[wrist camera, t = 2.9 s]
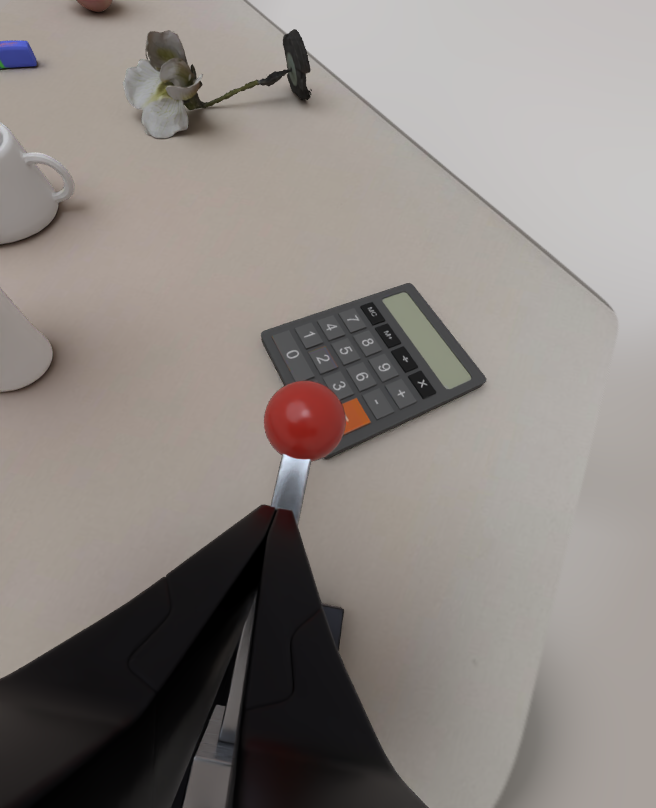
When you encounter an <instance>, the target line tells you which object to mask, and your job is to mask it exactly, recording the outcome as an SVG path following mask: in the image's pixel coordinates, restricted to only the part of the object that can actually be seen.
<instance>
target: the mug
mask: <svg viewBox="0 0 656 808" xmlns="http://www.w3.org/2000/svg"><path fill="white" fill-rule="evenodd" d="M36 163H40V164H45V165H48V166H50V167H52V168H53V169H55V170H56V171H57V172H58V173H59V174H60V175H61V177H62V178H63V181H64V187H63V189H62V190H61V191H59V192H55V190H54V188H53V187H52V185H51V183H50V182H49V181H48V179H47V178H46V176H45V175H44V174H43V172H42V171H41V170H40V168H39V167H38V166H37V165H36ZM74 190H75V185H74V181H73V179H72V176H71V175H70V173H69V172H68V171H67V169H66V168H65V167H64V166H63V165H62V164H61V163H60V162H59V161H57V160H56V159H54V158H53V157H51V156H49V155H46V154H43V153H37V152H31V153H27V152H26V150H25V149H24V148H23V146H22V145H21V144H20V142H19V141H18V140H17V138H16V137H15V136H14V134H13V133H12V132H11V130H10V129H9V128H8V127H6V126H5V125H4V124H2V123H1V122H0V244H4V243H11V242H15V241H18V240H21V239H24V238H27V237H29V236H31V235H33V234H35V233H37V232H39V231H41V230H42V229H43V228H45V227H46V226H47V225H49V223H50V222H51V221H52V220H53V218H54V217H55V215H56V212H57V209H58V204H59V203H58V202H61V201H64V200H67V199H69V198H70V197H71V196H72V195H73V193H74Z"/></svg>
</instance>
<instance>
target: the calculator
mask: <svg viewBox="0 0 656 808" xmlns="http://www.w3.org/2000/svg"><path fill="white" fill-rule="evenodd" d="M261 337H262V342H263V344H264V346H265V348H266V350H267V352H268V354H269V356H270V358H271V360H272V362H273V364H274V366H275V368H276V370H277V372H278V374H279V376H280V377H281V379H282V381H283V383H284V385H287V384H289V383H292V382H296V381H302V380H308V381H314V382H318V383H321V384H323V385H325V386H326V387H328V388H329V389H331V390H332V391H333V392H334V393H335V394H336V395H337V397H338V398H339V399H340V401H341V403H342V405H343V407H344V411H345V416H346V426H345V431H344V435H343V437H342V440H341V441H340V443H339V445H338V446H337V447H336V448H335V449H334V450H333V451H332V452H331V453H330V454H329V455H327V456H326V457H324V459H327V458H330V457H332V456H334V455H336V454H339V453H341V452H343V451H345V450H347V449H349V448H351V447H354V446H356V445H358V444H360V443H362V442H364V441H366V440H368V439H371V438H373V437H375V436H377V435H379V434H381V433H383V432H386V431H388V430H390V429H392V428H394V427H396V426H398V425H400V424H403V423H405V422H407V421H409V420H411V419H413V418H415V417H417V416H420V415H422V414H424V413H426V412H428V411H430V410H432V409H435V408H437V407H439V406H441V405H443V404H445V403H447V402H449V401H452V400H454V399H456V398H458V397H460V396H462V395H464V394H467V393H469V392H471V391H473V390H475V389H477V388H479V387H481V386H482V385H483V384H484V383H485V382H486V378H485V376H484V375H483V373H482V372H481V371H480V370H479V368H478V367H477V366H476V365H475V363H474V362H473V361H472V359H471V358H470V357H469V356H468V354H467V353H466V352H465V351H464V349H463V348H462V347H461V345H460V344H459V343H458V342H457V340H456V339H455V338H454V337H453V335H452V334H451V333H450V331H449V330H448V329H447V328H446V326H445V325H444V324H443V323H442V321H441V320H440V319H439V318H438V316H437V315H436V314H435V312H434V311H433V310H432V309H431V307H430V306H429V305H428V304H427V302H426V301H425V300H424V298H423V297H422V296H421V295H420V293H419V292H418V291H417V290H416V288H415V287H414V286H413V285H412V284H410V283H406V284H403V285H400V286H397V287H394V288H391V289H388V290H385V291H382V292H379V293H376V294H373V295H370V296H367V297H364V298H361V299H358V300H355V301H352V302H349V303H346V304H343V305H340V306H337V307H334V308H331V309H328V310H325V311H322V312H319V313H316V314H313V315H310V316H307V317H304V318H301V319H298V320H295V321H292V322H289V323H286V324H283V325H280V326H277V327H274V328H271V329H268V330H265V331H263V332H262V333H261Z"/></svg>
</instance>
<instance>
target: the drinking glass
mask: <svg viewBox="0 0 656 808" xmlns="http://www.w3.org/2000/svg"><path fill="white" fill-rule="evenodd" d="M52 358H53V350H52V346H51V344H50V342H49V341H48V339H47V338H46V337H45V336H44V335H43V334H42V333H41V332H40V331H39V330H38V329H37V328H36V327H35V326H34V325H33V324H32V323H31V322H30V321H29V320H28V319H27V317H26V316H25V315H24V314H23V313H22V312H21V311H20V309H19V308H18V307H17V306H16V305H15V304H14V303H13V301H12V300H11V299H10V298H9V297H8V296H7V294H6V293H5V292H4V291H3V290H2V289H1V288H0V392H5V391H12V390H17V389H20V388H23V387H25V386H27V385H29V384H31V383H33V382H35V381H36V380H37V379H39V378H40V377H41V376H42V375H43V374H44V373H45V372H46V371H47V369H48V368H49V366H50V364H51V361H52Z"/></svg>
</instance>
